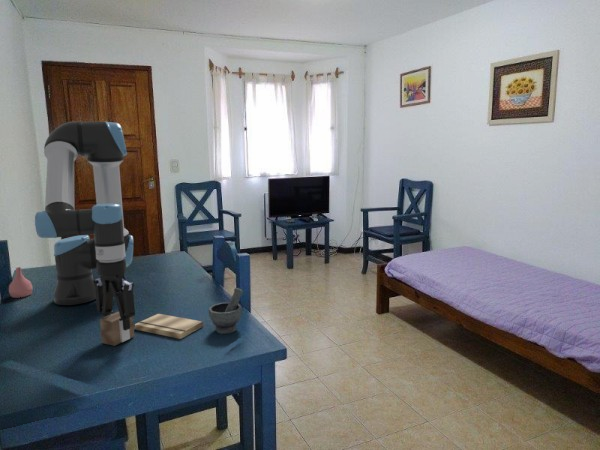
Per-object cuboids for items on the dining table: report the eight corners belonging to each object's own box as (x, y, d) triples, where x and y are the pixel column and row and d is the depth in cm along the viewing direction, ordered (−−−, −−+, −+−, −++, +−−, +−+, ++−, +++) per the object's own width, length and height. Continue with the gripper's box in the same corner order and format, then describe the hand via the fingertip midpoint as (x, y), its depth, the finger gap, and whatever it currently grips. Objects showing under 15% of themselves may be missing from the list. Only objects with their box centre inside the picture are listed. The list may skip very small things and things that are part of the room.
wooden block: (101, 342, 119) (99, 316, 118) (122, 333, 125) (119, 308, 124) (114, 345, 117) (112, 319, 116) (134, 336, 123) (132, 310, 122)
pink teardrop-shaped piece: (18, 302, 157) (15, 271, 155) (5, 300, 160) (1, 269, 158) (38, 296, 164) (34, 266, 162) (24, 294, 167) (21, 264, 165)
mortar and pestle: (219, 338, 121) (217, 298, 119) (204, 329, 128) (201, 291, 126) (252, 328, 128) (250, 290, 126) (235, 319, 135) (234, 283, 133)
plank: (134, 329, 129) (134, 323, 129) (158, 318, 138) (158, 313, 137) (180, 338, 121) (180, 333, 121) (202, 326, 130) (202, 320, 130)
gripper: (77, 259, 118) (85, 338, 121) (123, 265, 110) (130, 349, 114) (100, 254, 124) (107, 328, 128) (145, 259, 117) (151, 338, 120)
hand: (118, 338), depth 121 cm, fingers closed on wooden block, 5 cm apart
